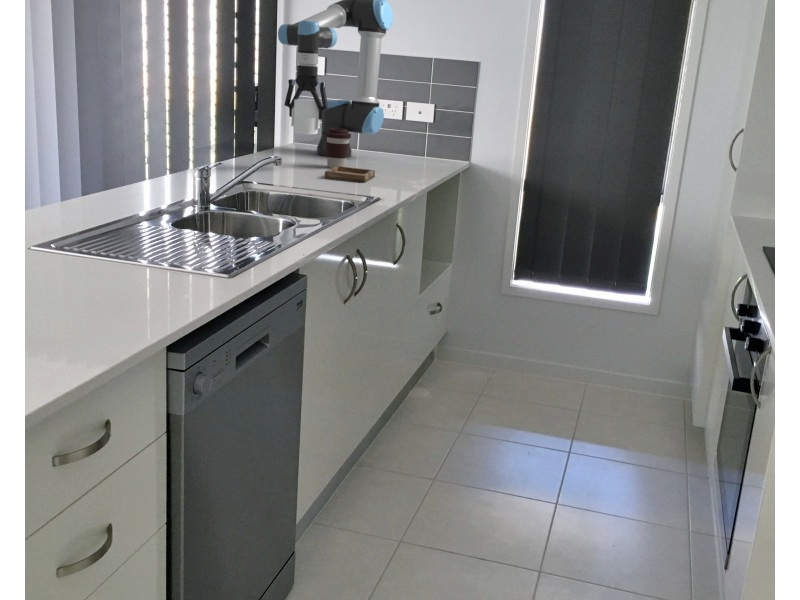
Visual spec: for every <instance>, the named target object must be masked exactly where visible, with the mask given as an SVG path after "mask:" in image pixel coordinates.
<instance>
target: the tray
mask: <svg viewBox="0 0 800 600" xmlns="http://www.w3.org/2000/svg"><path fill="white" fill-rule="evenodd" d="M375 177H376V170H374V169H367V168H356V167H349V166H346V167H341V166H336V167H334V168H329V169H327V170H325V171H324V179H326V180H328V179H329V180H335V179H336V181H344V182H345V181H346V182H353V183H362V184H365V183H366V182H368V181H370V180H372V179H373V178H375Z"/></svg>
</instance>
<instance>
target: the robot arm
mask: <svg viewBox="0 0 800 600" xmlns="http://www.w3.org/2000/svg"><path fill="white" fill-rule="evenodd" d="M393 15H394V14H393V9H392V7H391V4H390V3H389V1H387V0H339V1H337V2H333V3H332V4H329V5H328V7H327V8H326V9H324V10H322V11H320V12H318V13H315V14H313V15H311V16H309V17H306V18H304V19H302V20H300V21H298V22H295V23H292V24H291V23H285V24H284V23H283V24H281V25H280V26H279V28H278V31H277V36H278V37H277V38H278V41H279V42H280V44H282V45H287V46H296V47H297V61H296V62H297V64H298V65H297V66H296V78H294V79H292V78H291V79H288V87H287V91H286V96H285V101H284V104H283V105H284V106H285V107H288V109H289V110H288V111H289V113H288V115H289V117H290V118H291V123H290V125H291V126H290V127H294V99H299V98H300V96H301V94H302V93H303V92H310V93H311V95H312V97H313V100H315V102H316V105H317V107H318V111H316V129H318V130H319V129H320V128H321V136H320V137H319V141H318V143H317V146H316V154H317V155H319V156H324V157H327V146H326V142H327V137H326V136H325V134H326V132H329V129H330V128H342V129H347V131H348V133H354V134H355V133H357V134H362V135H375V134H377V133H378V132H379V131H380V129H381V128H382V125H383V123H384V120H385V119H384V118H385V115H384V114H385V113H384V109H383V108H382V107H381V106H380V103H381V102H380V101H379V99H378V98H377V96H378V95H377V94H378V86H379V85H378V81H379V75H380V74H379V73H380V62H381V61H380V59H381V50H382V40H383V38H384V37H385V36H386V34H387V31H389V30H390V29H391V28H392V25H393V22H394V21H393V20H394V16H393ZM343 27H347V28H348V27H349V28H350V27H352V28H357V33H358V35H359V36H360V43H359V56H358V57H359V58H358V67H357V79H356V88H355V90H356V92H355V97H353V98H352V99H351V100H350V99H340V100H337V99H336V100H328V98H327V92H326V82H325V81H319V80H318V75H319V74H318V72H319V71H318V70H319V68H318V66H317V65H319V49H331V48H333V47H334V46H335V45H336V44H337V41H338V34H337V32H336V30H334V29H341V28H343ZM296 84H297V86H298V87H297V89H296V91H295V94H294V96H293V92H294V89H295V85H296ZM317 85H318V88H319V92H320V97H321V99H320V97H319V94H318V92H317V91H318V90H317ZM292 96H293V97H292ZM352 153H353V152H352V146H351V143H350V141H349V150H348V157H347V158H349V157H352Z"/></svg>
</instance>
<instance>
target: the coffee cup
mask: <svg viewBox="0 0 800 600" xmlns="http://www.w3.org/2000/svg"><path fill="white" fill-rule="evenodd" d="M325 136H326V137H327V142H326V146H327V156H326V158H327V159H326V160H327V161H326V162H327V163H326V164H327V167H328V168H329V169H331V168H334V167H336V166H341V167H347V161H348V158H349V157H348V150H349V142H350V139H352V138H351V137H352V134H351V132H349V133H348V131H347V129H342V128H330V129H329V132H326V134H325Z"/></svg>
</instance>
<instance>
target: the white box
mask: <svg viewBox="0 0 800 600" xmlns="http://www.w3.org/2000/svg"><path fill="white" fill-rule="evenodd" d="M316 111H318V107H317V105H316V102H315V100H314V99H304V98H302V99H299V98H298V99H294V126H293V133H294V134H297V135H317V134H318V132H319V131H318V130H319V129H316Z"/></svg>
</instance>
